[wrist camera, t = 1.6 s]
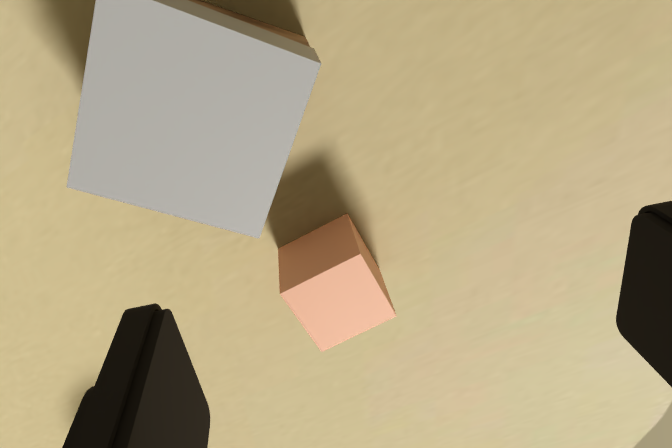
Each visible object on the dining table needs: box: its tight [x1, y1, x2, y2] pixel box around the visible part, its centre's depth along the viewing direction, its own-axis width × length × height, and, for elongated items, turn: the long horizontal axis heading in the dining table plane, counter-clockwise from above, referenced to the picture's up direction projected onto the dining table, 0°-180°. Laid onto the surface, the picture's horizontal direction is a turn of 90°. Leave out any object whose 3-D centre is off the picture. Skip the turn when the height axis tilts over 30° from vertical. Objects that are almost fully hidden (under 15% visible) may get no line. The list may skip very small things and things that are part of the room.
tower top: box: [67, 0, 321, 238], centre depth 26 cm, size 10×10×4 cm
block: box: [278, 213, 396, 352], centre depth 36 cm, size 6×6×6 cm
